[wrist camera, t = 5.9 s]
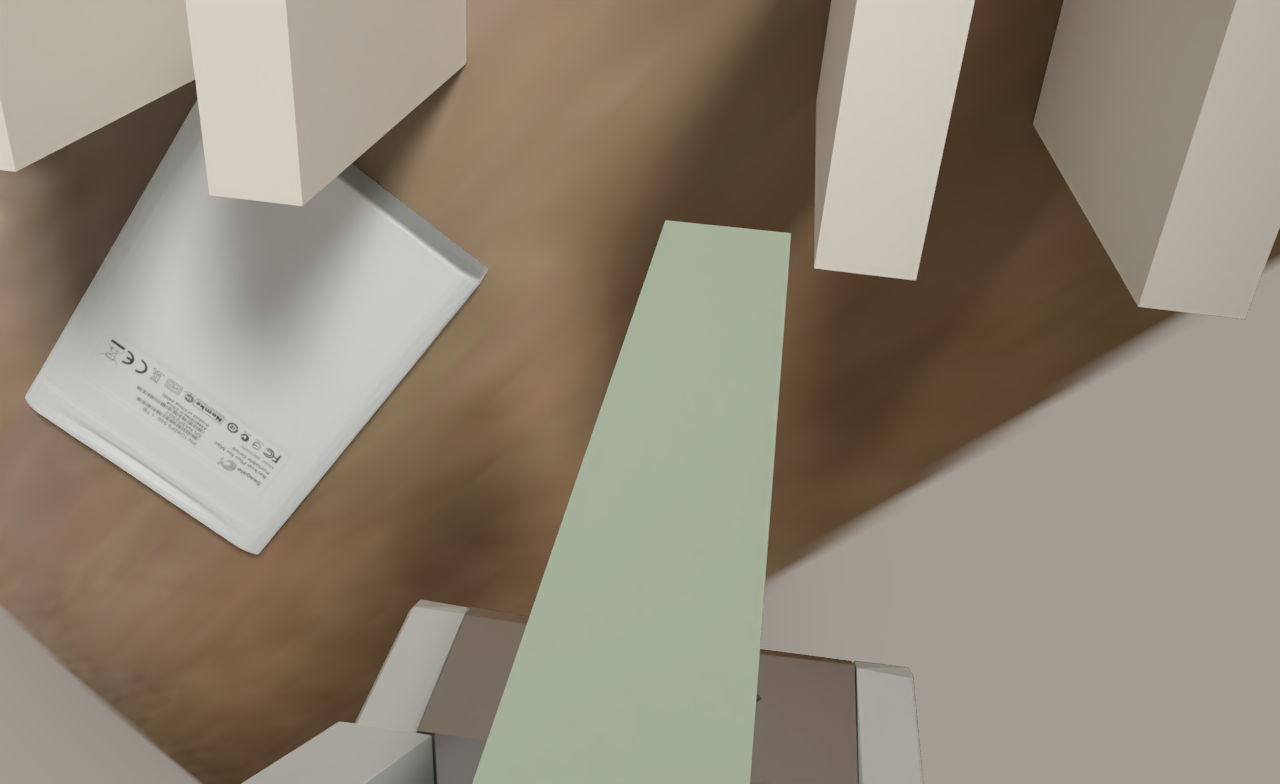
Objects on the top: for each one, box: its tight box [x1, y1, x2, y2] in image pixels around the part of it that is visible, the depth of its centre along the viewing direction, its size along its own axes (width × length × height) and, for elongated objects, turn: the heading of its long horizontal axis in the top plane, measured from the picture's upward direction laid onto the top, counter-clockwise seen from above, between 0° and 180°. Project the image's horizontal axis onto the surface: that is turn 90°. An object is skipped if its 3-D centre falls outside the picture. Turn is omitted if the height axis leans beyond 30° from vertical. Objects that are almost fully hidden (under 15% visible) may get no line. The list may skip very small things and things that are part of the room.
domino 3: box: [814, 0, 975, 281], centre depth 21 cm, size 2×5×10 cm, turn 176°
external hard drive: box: [25, 99, 488, 555], centre depth 32 cm, size 2×8×12 cm
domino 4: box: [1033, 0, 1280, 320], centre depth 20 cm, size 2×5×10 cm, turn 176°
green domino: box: [472, 220, 791, 784], centre depth 11 cm, size 2×5×10 cm, turn 177°
